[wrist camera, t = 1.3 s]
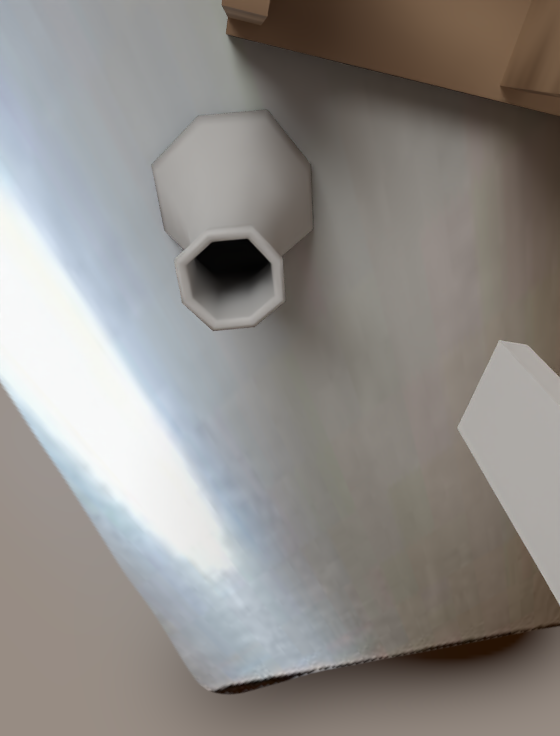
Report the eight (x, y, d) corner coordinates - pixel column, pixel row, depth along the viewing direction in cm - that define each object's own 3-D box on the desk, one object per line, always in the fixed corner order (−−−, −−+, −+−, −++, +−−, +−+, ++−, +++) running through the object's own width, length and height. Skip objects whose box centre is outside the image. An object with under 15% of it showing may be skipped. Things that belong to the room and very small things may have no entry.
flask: (278, 76, 21) (302, 95, 12) (337, 236, 24) (386, 336, 16) (122, 152, 22) (46, 217, 13) (201, 294, 25) (180, 416, 17)
